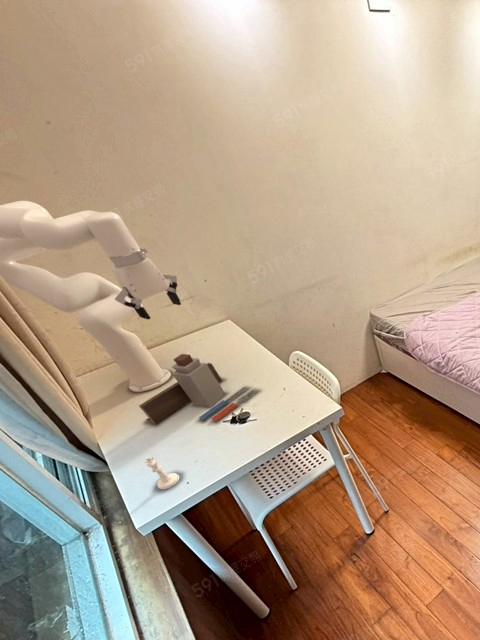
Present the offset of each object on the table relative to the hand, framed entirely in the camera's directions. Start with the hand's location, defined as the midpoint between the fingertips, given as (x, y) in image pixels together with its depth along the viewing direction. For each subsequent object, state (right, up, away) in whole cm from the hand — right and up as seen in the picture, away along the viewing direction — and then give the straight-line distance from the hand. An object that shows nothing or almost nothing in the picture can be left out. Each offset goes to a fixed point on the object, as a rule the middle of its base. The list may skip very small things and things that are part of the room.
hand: (162, 311), depth 122 cm
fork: (+17, -31, +8) cm, 36 cm away
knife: (+13, -30, +10) cm, 34 cm away
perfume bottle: (+6, -29, +12) cm, 32 cm away
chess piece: (+16, -50, -16) cm, 55 cm away
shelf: (-2, -29, +12) cm, 31 cm away
